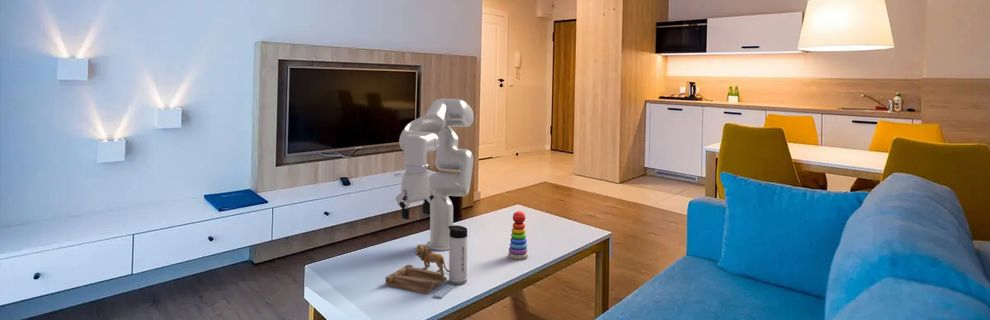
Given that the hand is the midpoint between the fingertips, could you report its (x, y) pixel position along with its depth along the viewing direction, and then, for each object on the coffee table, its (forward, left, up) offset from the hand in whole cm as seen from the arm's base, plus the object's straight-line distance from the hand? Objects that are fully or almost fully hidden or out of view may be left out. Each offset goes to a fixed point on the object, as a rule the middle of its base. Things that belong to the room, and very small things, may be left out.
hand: (416, 216), depth 191 cm
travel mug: (0, +17, -22) cm, 28 cm away
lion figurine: (-5, +3, -22) cm, 23 cm away
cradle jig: (+8, +5, -21) cm, 23 cm away
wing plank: (+11, +17, -22) cm, 30 cm away
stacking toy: (-33, +27, -22) cm, 48 cm away
